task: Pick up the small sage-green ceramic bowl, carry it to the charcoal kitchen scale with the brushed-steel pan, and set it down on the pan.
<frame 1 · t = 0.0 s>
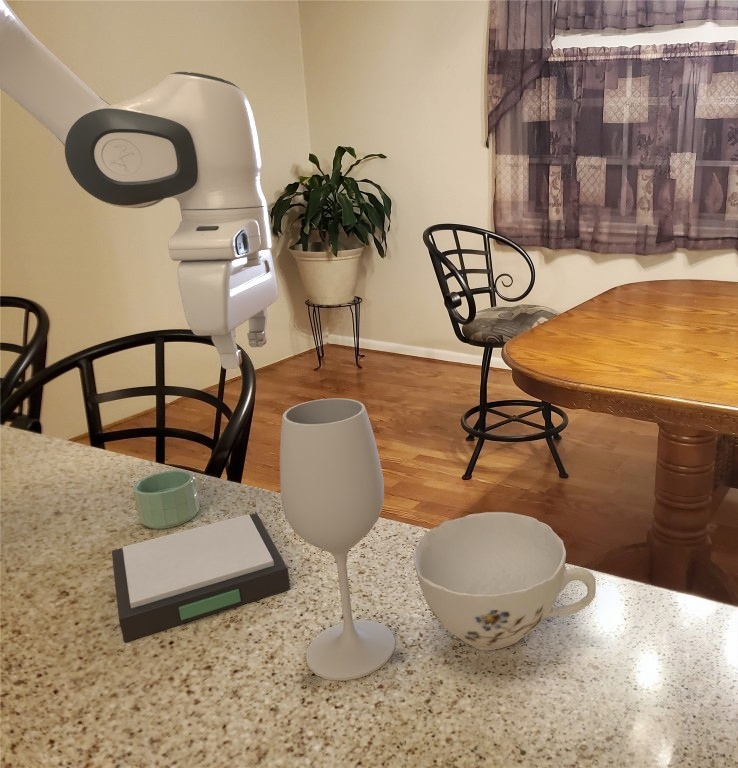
hand: (246, 355, 80), 18 cm above the breakfast bar, tool pointing down, fingers open, 8 cm apart
bowl: (170, 517, 80), on the breakfast bar
wineglass: (351, 651, 57), on the breakfast bar
teacup: (506, 632, 59), on the breakfast bar
scale: (201, 580, 67), on the breakfast bar
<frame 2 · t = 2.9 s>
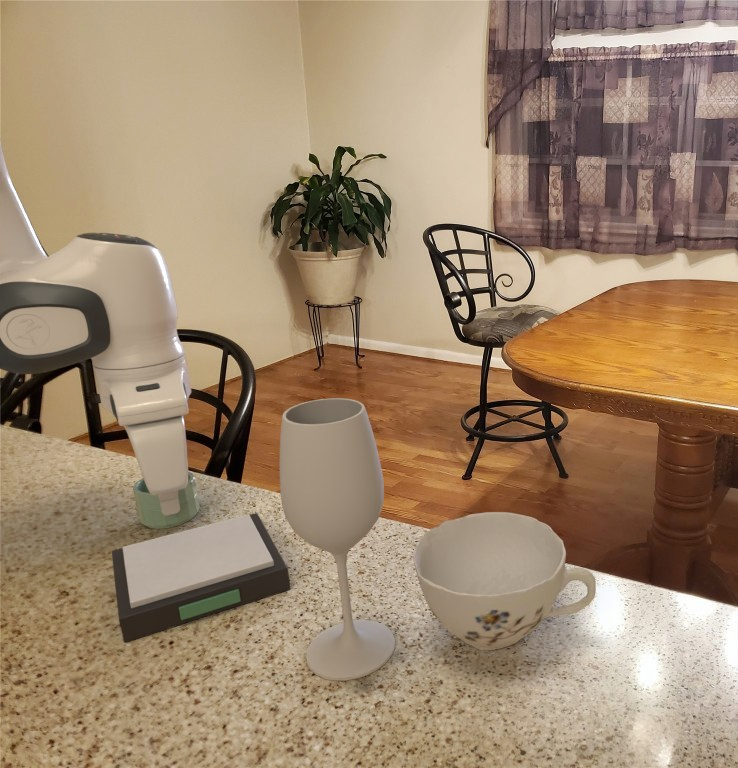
hand: (167, 498, 79), 2 cm above the breakfast bar, tool pointing down, fingers closed on bowl, 6 cm apart
bowl: (170, 517, 80), on the breakfast bar, touching gripper
everything else where it was.
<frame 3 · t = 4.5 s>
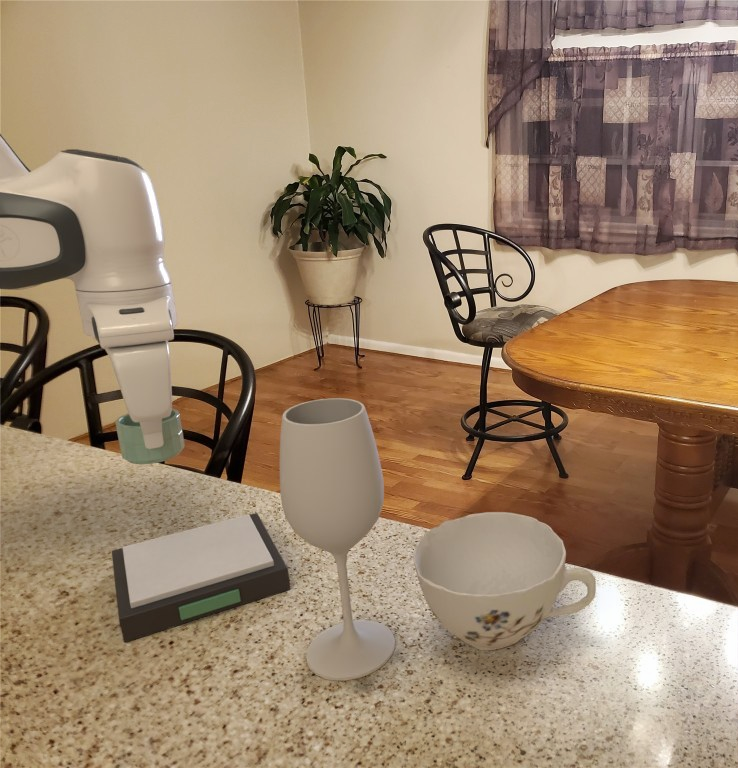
hand: (151, 434, 76), 10 cm above the breakfast bar, tool pointing down, fingers closed on bowl, 6 cm apart
bowl: (154, 454, 77), point 8 cm above the breakfast bar, touching gripper
everything else where it was.
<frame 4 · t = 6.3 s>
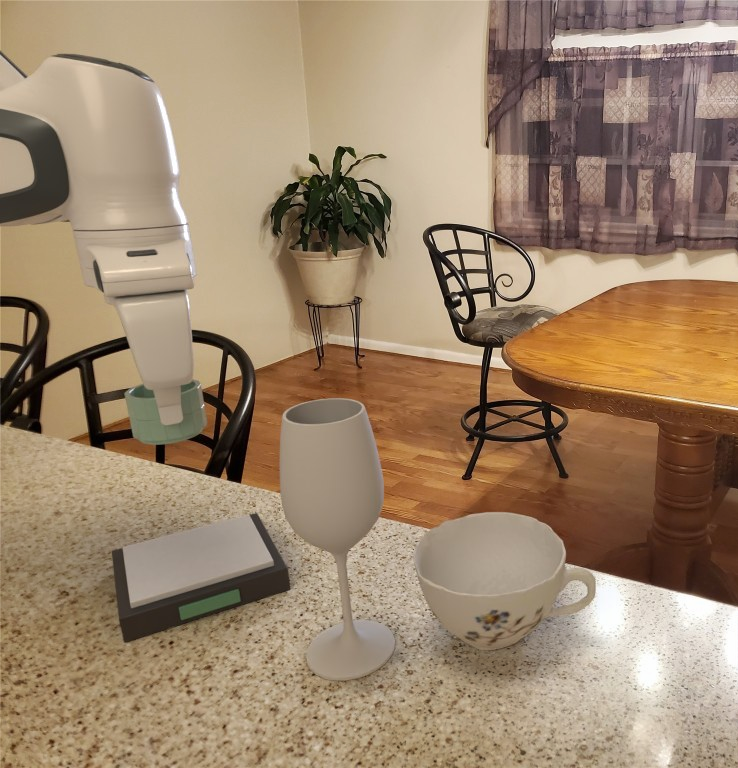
hand: (167, 410, 64), 17 cm above the breakfast bar, tool pointing down, fingers closed on bowl, 6 cm apart
bowl: (171, 433, 65), point 15 cm above the breakfast bar, touching gripper
everything else where it was.
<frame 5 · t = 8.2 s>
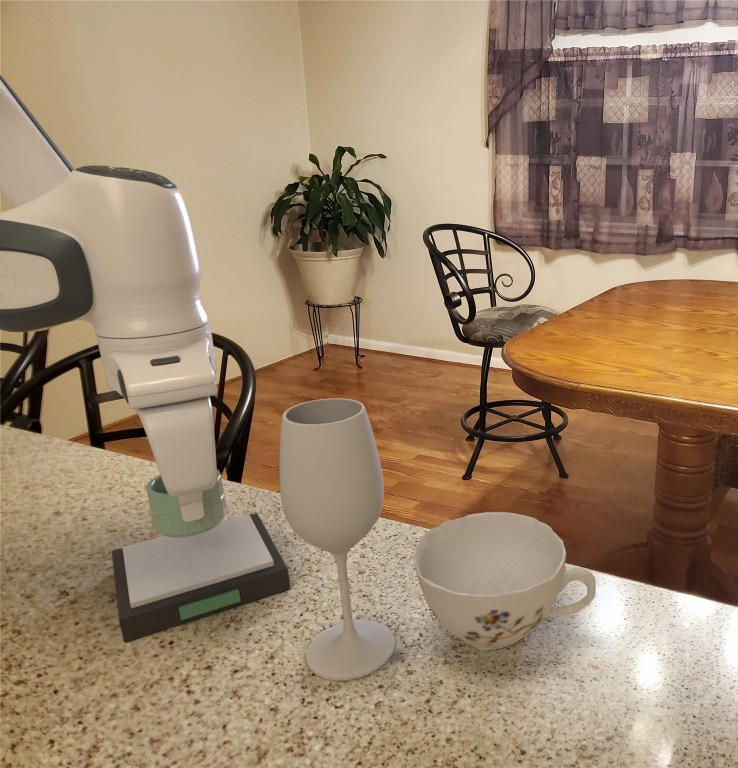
hand: (187, 501, 64), 9 cm above the breakfast bar, tool pointing down, fingers closed on bowl, 6 cm apart
bowl: (191, 523, 65), point 6 cm above the breakfast bar, touching gripper
everything else where it was.
when the fingers open (5 cm above the breakfast bar, at t = 9.7 s): bowl stays where it is, resting on scale.
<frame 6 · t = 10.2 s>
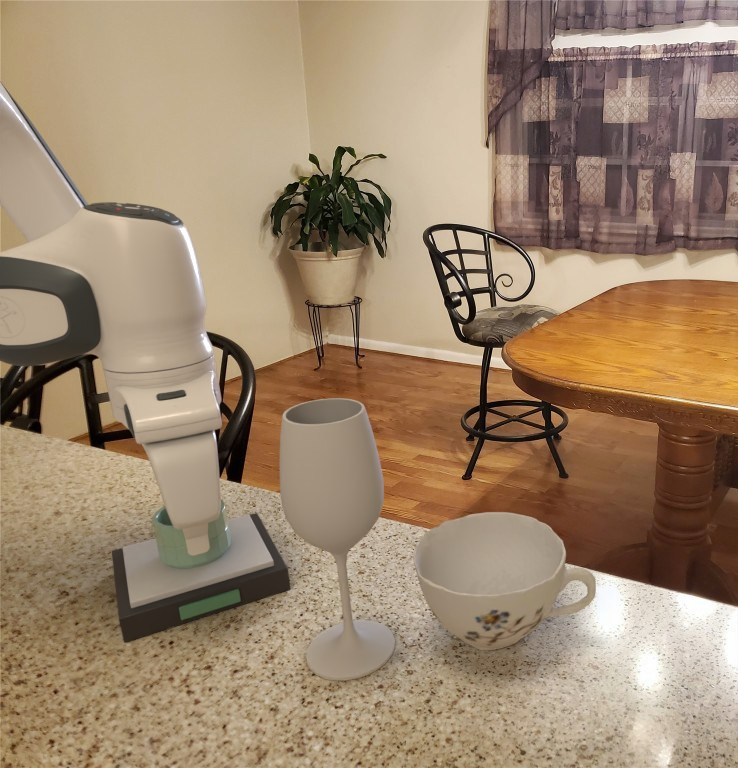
hand: (191, 528, 65), 6 cm above the breakfast bar, tool pointing down, fingers open, 8 cm apart
bowl: (196, 553, 66), point 3 cm above the breakfast bar, touching scale
everything else where it was.
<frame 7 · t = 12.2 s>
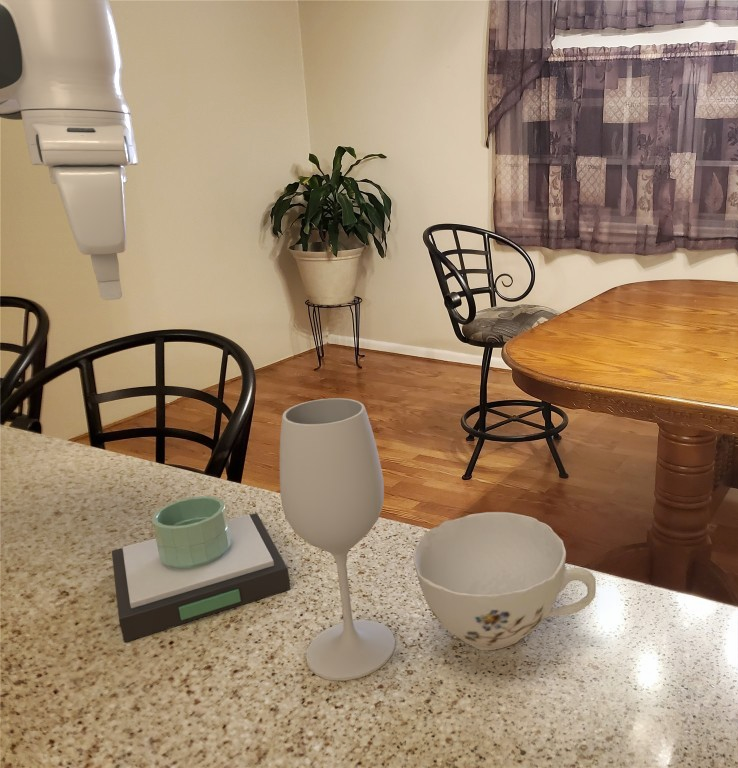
hand: (110, 291, 69), 27 cm above the breakfast bar, tool pointing down, fingers open, 8 cm apart
nothing on the breakfast bar moved.
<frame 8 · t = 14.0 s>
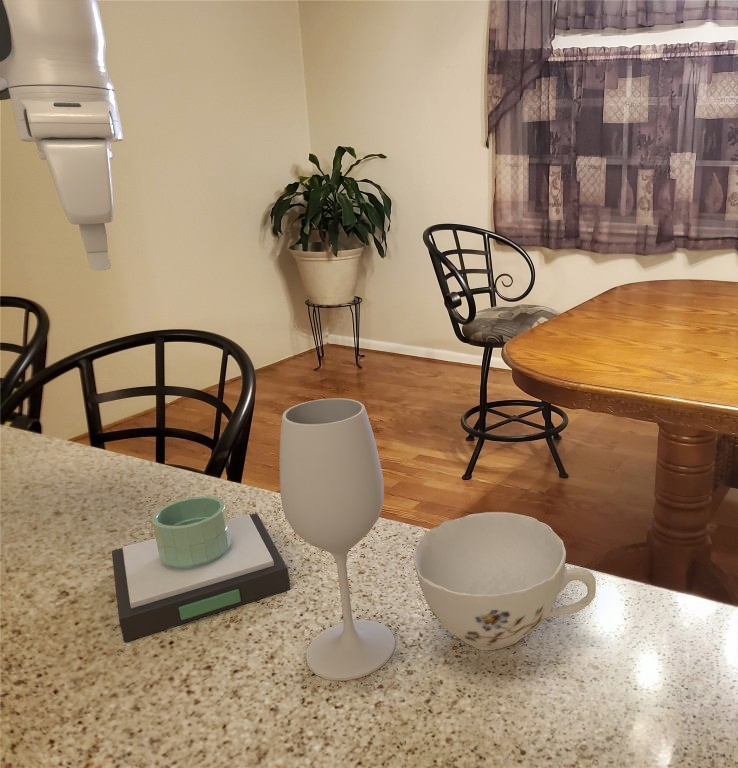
hand: (99, 264, 71), 29 cm above the breakfast bar, tool pointing down, fingers open, 8 cm apart
nothing on the breakfast bar moved.
at the end: bowl inside the target area on the scale (0.1 cm from its centre), point 3.0 cm above the scale's base; bowl tilted 0°; the gripper is holding nothing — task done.
